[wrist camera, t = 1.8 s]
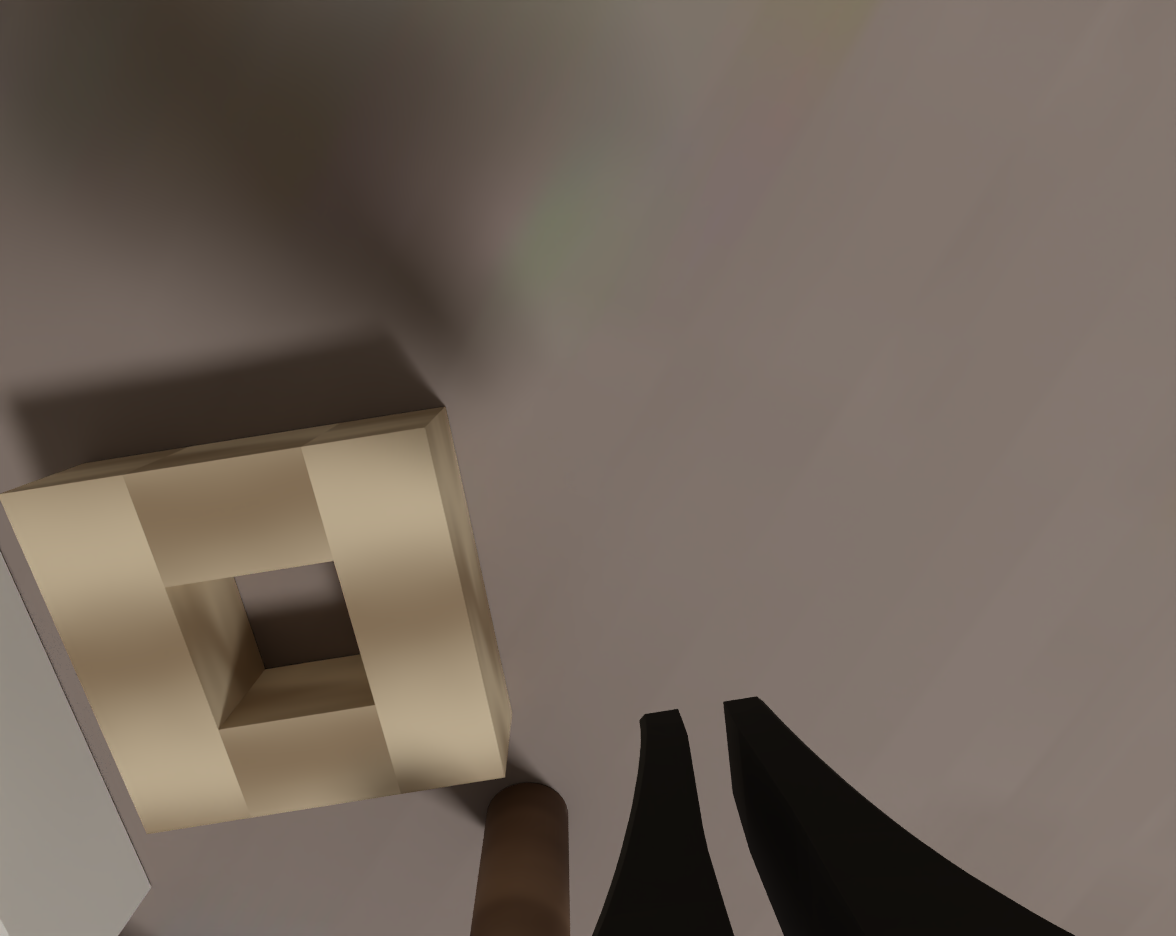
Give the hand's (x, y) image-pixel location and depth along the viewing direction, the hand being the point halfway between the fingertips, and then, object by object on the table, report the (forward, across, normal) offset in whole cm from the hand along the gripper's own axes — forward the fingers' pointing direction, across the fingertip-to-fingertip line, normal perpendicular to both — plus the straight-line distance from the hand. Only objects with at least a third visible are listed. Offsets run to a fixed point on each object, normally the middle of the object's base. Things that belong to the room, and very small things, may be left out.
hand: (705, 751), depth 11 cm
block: (+9, +11, 0) cm, 14 cm away
